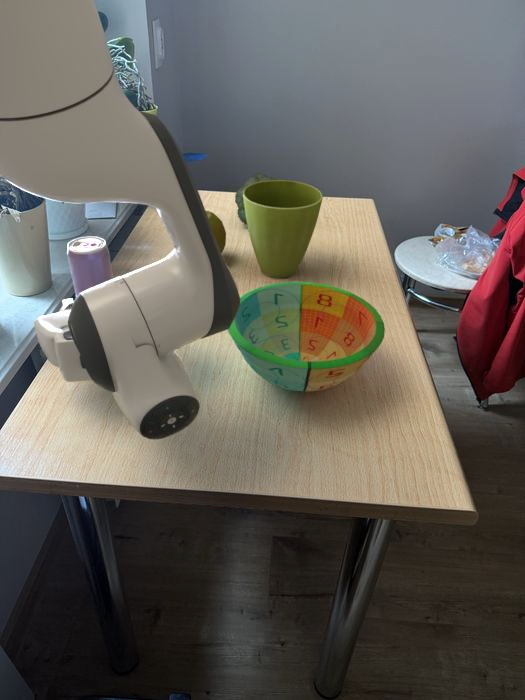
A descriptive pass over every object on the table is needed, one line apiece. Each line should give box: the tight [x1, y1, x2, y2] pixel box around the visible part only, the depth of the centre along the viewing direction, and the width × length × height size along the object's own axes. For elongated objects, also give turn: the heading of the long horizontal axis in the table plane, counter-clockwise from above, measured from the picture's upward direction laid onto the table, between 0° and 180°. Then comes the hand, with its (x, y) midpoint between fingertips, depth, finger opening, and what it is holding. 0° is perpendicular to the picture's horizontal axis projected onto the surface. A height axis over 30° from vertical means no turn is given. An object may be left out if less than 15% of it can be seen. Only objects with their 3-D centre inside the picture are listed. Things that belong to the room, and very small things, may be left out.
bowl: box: [227, 281, 386, 392], centre depth 78 cm, size 22×22×10 cm
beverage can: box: [66, 235, 114, 298], centre depth 83 cm, size 6×6×15 cm
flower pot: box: [243, 179, 324, 279], centre depth 103 cm, size 15×15×16 cm
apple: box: [205, 210, 227, 254], centre depth 108 cm, size 10×10×11 cm
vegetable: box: [234, 173, 279, 226], centre depth 126 cm, size 12×13×15 cm
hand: (100, 296), depth 78 cm, fingers open, 8 cm apart
